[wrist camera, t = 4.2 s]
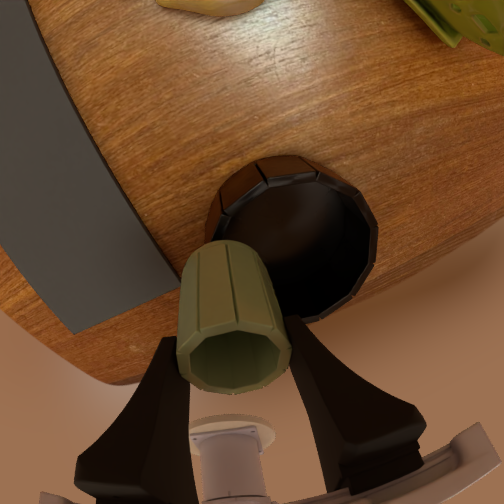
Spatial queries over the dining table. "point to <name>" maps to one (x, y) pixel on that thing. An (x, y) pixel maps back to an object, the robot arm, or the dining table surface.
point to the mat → (65, 193)
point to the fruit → (212, 6)
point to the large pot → (299, 231)
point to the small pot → (229, 321)
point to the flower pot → (464, 21)
